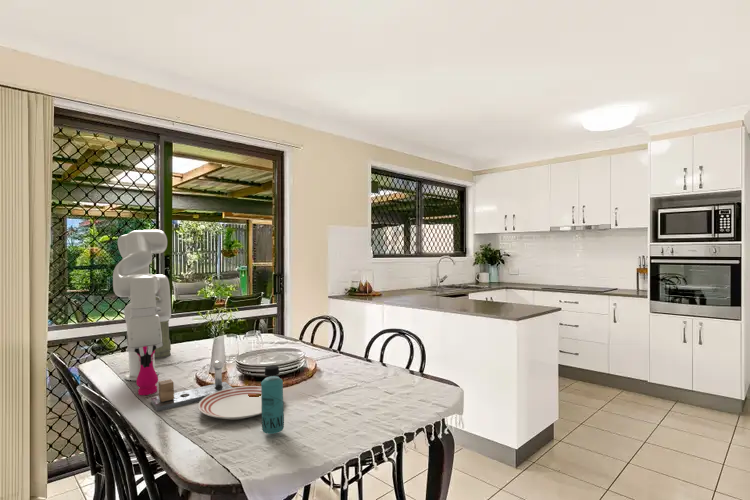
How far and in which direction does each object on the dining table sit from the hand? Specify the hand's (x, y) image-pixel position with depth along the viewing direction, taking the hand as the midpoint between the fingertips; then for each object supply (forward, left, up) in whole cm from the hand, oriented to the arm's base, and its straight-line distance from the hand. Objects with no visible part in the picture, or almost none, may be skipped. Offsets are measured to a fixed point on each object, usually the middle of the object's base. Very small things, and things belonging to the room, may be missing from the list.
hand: (146, 366), depth 146 cm
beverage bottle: (+46, +25, -15) cm, 54 cm away
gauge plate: (0, +15, -15) cm, 21 cm away
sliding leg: (0, +6, -13) cm, 14 cm away
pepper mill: (-17, +3, -15) cm, 23 cm away
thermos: (-69, +18, -15) cm, 73 cm away
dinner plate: (+21, +25, -15) cm, 36 cm away
